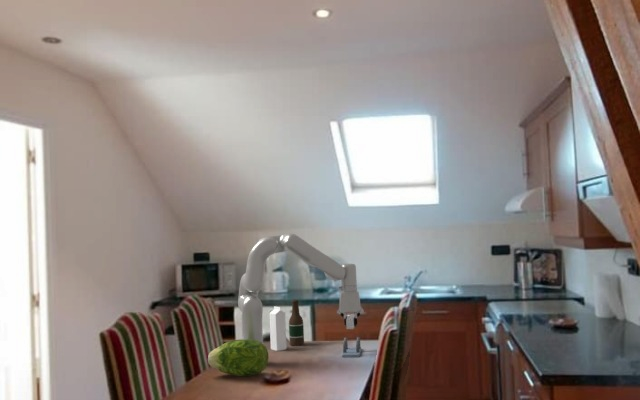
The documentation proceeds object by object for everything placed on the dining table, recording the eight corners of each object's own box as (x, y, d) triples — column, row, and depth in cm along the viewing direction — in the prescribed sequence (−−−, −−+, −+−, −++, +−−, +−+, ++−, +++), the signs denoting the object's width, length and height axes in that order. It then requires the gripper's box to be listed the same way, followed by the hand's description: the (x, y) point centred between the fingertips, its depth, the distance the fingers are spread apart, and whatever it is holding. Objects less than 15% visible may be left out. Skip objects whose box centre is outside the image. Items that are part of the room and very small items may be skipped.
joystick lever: (354, 328, 282) (354, 319, 282) (345, 329, 282) (344, 319, 283) (356, 322, 299) (356, 313, 299) (347, 322, 300) (347, 314, 300)
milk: (276, 351, 300) (275, 307, 301) (270, 349, 305) (268, 306, 306) (286, 349, 304) (285, 306, 305) (280, 347, 309) (278, 305, 310)
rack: (359, 356, 279) (358, 342, 279) (342, 357, 280) (341, 343, 280) (361, 349, 297) (360, 335, 297) (345, 349, 297) (344, 336, 298)
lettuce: (214, 371, 262) (213, 336, 262) (272, 371, 257) (271, 335, 258) (202, 380, 247) (201, 343, 248) (264, 380, 243) (262, 342, 243)
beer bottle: (303, 346, 310) (302, 300, 311) (289, 346, 310) (287, 301, 312) (304, 343, 318) (302, 298, 319) (290, 343, 318) (288, 299, 319)
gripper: (331, 290, 287) (333, 328, 286) (365, 289, 285) (367, 327, 284) (333, 288, 294) (335, 325, 293) (366, 287, 292) (368, 324, 291)
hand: (351, 325), depth 289 cm, fingers closed on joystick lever, 3 cm apart
